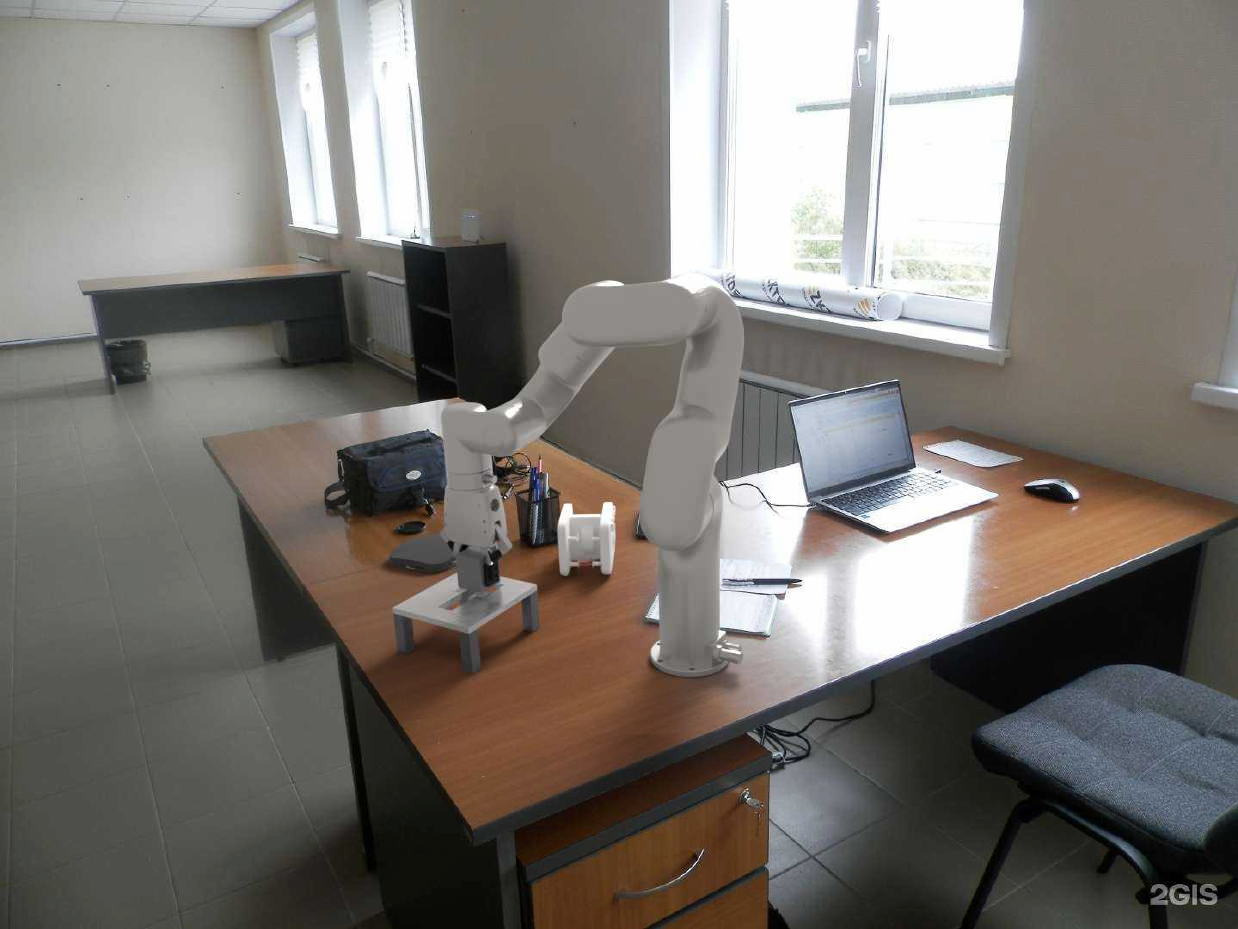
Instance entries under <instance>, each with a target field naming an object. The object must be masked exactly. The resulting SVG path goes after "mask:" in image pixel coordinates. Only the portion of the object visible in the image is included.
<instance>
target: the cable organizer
mask: <svg viewBox="0 0 1238 929" xmlns="http://www.w3.org/2000/svg"><path fill="white" fill-rule="evenodd" d="M616 510H617V509H616V505H614V504H613V502H612V501H611V502H610V501H609V502H603V504H602V509H601V513H598V514H597V513H596V514H595V513H594V514H593V513H592V514H591V513H588V514H586V513H585V514H583V513H582V514H574V513H573V504H572V503H564V504H563V506H562V509H561V513H560V516H559V519H558V522H557V545H558V548H557V549H558V564H559V573H560V575H562V576H564V577H567V576H569V574H570V570H571V567H578V568H577V569H578V570H580V560H600V561H592V568H594V567H600V571H601V574H603V575H605V576H607V575H610V574H611V573H612V570H613V564H614V557H615V550H616V549H615V548H616V523H615V517H616V512H617V511H616ZM573 560H577V561H573Z"/></svg>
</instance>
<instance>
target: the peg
mask: <svg viewBox="0 0 1238 929" xmlns="http://www.w3.org/2000/svg"><path fill="white" fill-rule="evenodd" d="M489 550H490V553H491V555H492V550H491V548H490V549H489ZM484 564H486V562H485V559H484V556H483V553H482V549H481V548H479V547H474V546H471V547H469V548H467V549H465V550H463V551H461V552H459V553H457V554H456V566H455V567H456V573H457V576H458V586H459V588H463V589H467V590H471V591H475V594H474V595H471V596H470V597H469V598H468V600H470V599H472V598H474V597H480V598H483V597H485V596H487V595H488V594H490V593H491V592H486V591H487V590H489V589H490V588H494V587H493V586H494V585H496V584H498V583H499V582H500V576H501V573H500V570H499V581H498V582H497V583H495V584H493V585H492V586H490V587H486V586H485V580H484V568H483V565H484ZM498 566H499V567H500V560H499V561H498Z"/></svg>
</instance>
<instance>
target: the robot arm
mask: <svg viewBox="0 0 1238 929" xmlns="http://www.w3.org/2000/svg"><path fill="white" fill-rule="evenodd" d="M744 332H745V329H744V323H743V319H742V315H741V312H740V310H739V307H738V305H737V303H736V301H735V300H734V299H733V298H732V296H731V295H730V294H729V292H728V291H727V290H726V289H725V288H724V287H723V286H721V285H720V284H719V283H718V282H716V281H715V280H713V279H711V278H710V277H708V276H706V275H703V274H699V273H691V272H690V273H682V274H678V275H676V276H673V277H671V278H667V279H664V280H660V281H654V282H653V281H652V282H651V281H650V282H642V283H641V282H640V283H631V284H630V283H628V284H624V283H622V282H619V281H616V280H611V279H608V280H602V281H597V282H594V283H590V284H586V285H583V286H582V287H579V288H577V289H576V290H574V291H573V292H572V293H571V294H570V295H569V297H568V298H567V299H566V301H565V304H564V305H563V309H562V312H561V322H560V323H559V325H558V326H556V328H555V329H554V330H553V332H552V333H551V334H550V335H549V336H548V338H547V339H546V340H545V341H544V343H542V345H541V346H540V347H539V349H538V353H537V354H538V360H539V362H540V364H539V365H538V369H537V370H536V372H535V373H534V375H533V376H531V378H530V380H529V381H528V382H527V383H526V384H525V386H524V387H523V388H522V389H521V390H520V391H519V393H518V394H516V396H515V397H514V398H513V399H511V400H509V401H507V402H505V403H503V404H501V405H499V406H497V407H494V408H490V409H489V410H487V407H486V406H484V405H483V404H482V403H478V402H471V401H469V402H468V401H467V402H458V403H452V404H449V405H447V406H445V407H444V408H443V409H442V411H441V412H440V422H441V435H442V443H443V445H442V446H443V455H444V463H445V474H446V475H445V476H446V484H447V485H446V486H445V490H444V499H443V518H444V519H443V521H444V526H443V528H442V529H441V531H440V532H439V534H440V536H441V537H442V538H443V540H444V541H445V542H446V543H447V544H448V546H449V548H450V549H451V550H452V551H453V556H454V558H456V554H457V553H459V552H461V551H463V550H465V549H467V548H469V546H474V547H479V548H481V549H482V553H483V556H484V559H485V562H486V564H484V565H483V568H484V580H485V586H486V587H490V586H492V585H493V584H495V583H497V582H498V581H499V571H500V565H499V566H498V561H499V562H500V560H501V559H502V557H503V556H504V555H505V554H506V553H508V552H509V551H510V550H511V549H512V548H513V543H512V542H511V541H510V539H509V537H508V527H507V519H506V514H505V508H504V503H503V499H502V495H501V491H500V489H499V486H498V485H496V483H497V481H498V476H497V475H494V472H493V459H492V457H493V456H494V457H499V458H502V457H508V456H511V455H513V454H515V453H517V452H518V451H520V450H522V449H523V448H524V447H526V446H527V445H528V444H531V443H532V442H534V441H536V440H537V439H538V438H540V437H541V436H542V435H543V434H544V433H545V432H546V430H548V428H549V427H550V426H551V425H553V423H554V422H555V421H556V420H557V418H558V417H559V416H560V415H561V414H562V413H563V412H564V411H565V409H566V408H567V407H568V406H569V404H570V403H571V402H572V400H573V399H574V398H575V396H576V395H577V394H578V393H579V392H580V390H581V389H582V386H583V385H584V384H585V383H586V382H587V381H588V379H589V378H590V377H591V376H592V375H593V373H594V372H595V371H596V370H597V368H599V366H600V365H601V364H602V363H603V362H604V361H605V359H606V358H607V357H609V355H610V354H611V353H612V352H613V351H614V349H616V348H630V347H631V348H632V347H646V346H647V347H649V346H650V347H652V346H653V347H654V346H666V345H673V344H674V345H675V344H679V343H682V342H684V341H685V342H686V346H685V352H684V356H683V359H682V363H681V367H680V372H679V379H678V380H679V381H678V386H677V392H676V396H675V401H674V405H673V408H672V410H671V411H670V413H669V414H668V415H667V416H666V417H665V418H664V419H662V421H661V422H660V423H659V424H658V425H657V427H656V428H655V430H654V432H653V435H652V438H651V441H650V444H649V447H648V451H647V452H648V453H647V457H646V463H645V464H646V465H645V473H644V478H643V484H642V488H641V489H642V490H641V495H640V503H639V510H638V512H639V515H638V516H639V518H638V519H639V524H640V528H641V531H642V532H643V535H644V536H645V538H646V539H647V540H648V541H649V542H650V543H651V544H652V545H653V546H654V547H656V548H657V577H658V578H657V581H658V582H657V584H658V620H659V621H658V623H659V628H658V629H659V640H658V641H656V642H655V643H654V644H653V645H652V647H651V648H650V652H649V653H650V654H649V656H650V661H651V663H652V664H653V666H654V668H656V669H658V670H659V671H661V672H663V673H665V674H668V675H672V676H676V677H682V678H683V677H684V678H697V677H698V678H699V677H704V676H710V675H713V674H715V673H717V672H719V671H721V670H722V669H724V668H725V667H726V666H727V665H728V664H729V663H732V664H735V665H739V666H740V665H741V664H742V662H743V659H744V653H743V652H742V645H741V644H738V643H737V644H736V643H731V642H729V641H728V640H727V634H726V633H727V632H726V631H725V630H721V627H720V626H721V625H720V624H721V621H720V620H721V615H720V614H721V608H720V607H721V605H720V604H721V601H720V598H721V597H720V596H721V595H720V594H721V591H720V590H721V588H720V581H721V580H720V577H721V575H720V568H721V533H722V532H721V531H722V520H723V508H724V506H723V504H724V502H723V501H724V500H723V492H722V488H721V485H720V482H719V480H718V479H717V478H716V476H715V475H714V473H715V468H716V464H717V462H718V461H719V459H720V458H721V457H722V456H723V454H724V453H725V451H726V450H727V447H728V445H729V442H730V439H731V429H732V423H733V418H734V417H733V416H734V412H735V405H736V400H737V396H738V388H739V382H740V376H741V374H740V373H741V370H742V364H743V355H744V347H745V333H744ZM498 544H499V545H498ZM490 548H491V550H492V555H491V553H490V550H489V549H490Z"/></svg>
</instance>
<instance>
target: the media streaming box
mask: <svg viewBox="0 0 1238 929" xmlns="http://www.w3.org/2000/svg"><path fill="white" fill-rule="evenodd" d="M469 547H471V546H469ZM389 562H390V565H391V566H392V567H394V568H398V569H404V570H408V571H409V570H410V571H413V572H414V571H415V572H420V573H428V574H435V573H442V572H446V571H449V570H450V569H452V568H454V567H457V566H456V558H454V556H453V551H452V550H451V549H450V548H449V546H448V544H447V543H446V542H445V541H444V540H443V538H442V537H441V536H440V533H435V534H427V535H421V536H416V537H413V538H410V539H409V540H408V539H407V540H406V541H404V542H402V543H401V544H399V545H397V546H395V548H393V549H392V550H391V551H390V552H389Z"/></svg>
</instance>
